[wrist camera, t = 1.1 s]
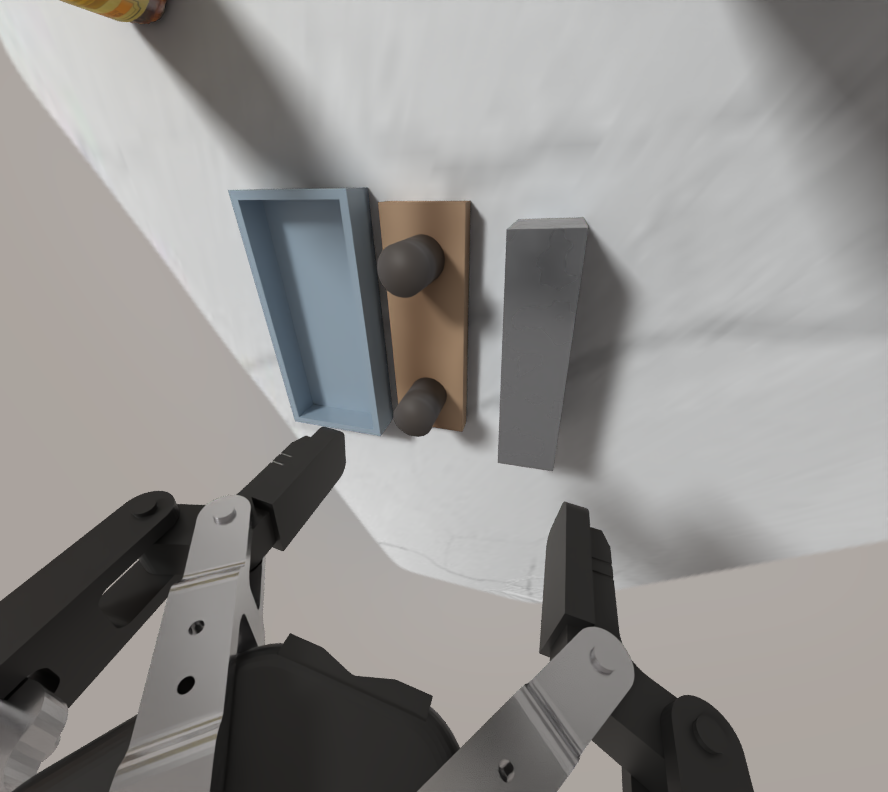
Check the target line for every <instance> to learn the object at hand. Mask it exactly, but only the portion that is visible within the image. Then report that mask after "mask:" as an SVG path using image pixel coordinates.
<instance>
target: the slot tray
mask: <svg viewBox="0 0 888 792" xmlns="http://www.w3.org/2000/svg"><path fill="white" fill-rule="evenodd" d="M228 192H229V195H230V199H231V202H232V206H233V209H234V212H235V216H236V219H237V223H238V226H239V230H240V233H241V237H242V240H243V243H244V247H245V250H246V254H247V257H248V261H249V264H250V268H251V271H252V274H253V278H254V281H255V285H256V288H257V292H258V295H259V299H260V302H261V305H262V309H263V312H264V316H265V319H266V323H267V326H268V329H269V333H270V336H271V340H272V343H273V347H274V350H275V354H276V357H277V360H278V364H279V367H280V371H281V374H282V378H283V381H284V385H285V388H286V391H287V395H288V398H289V402H290V405H291V409H292V412H293V416H294V419H295V421H297V422H302V423H308V424H314V425H320V426H325V427H331V428H337V429H343V430H348V431H354V432H360V433H365V434H371V435H377V436H381V435H382V433H383V432H384V430H385V429H386V428H387V426H388V425H389V423H390V422H391V421H392V419H393V411H392V402H391V393H390V384H389V375H388V366H387V357H386V348H385V339H384V330H383V321H382V312H381V303H380V294H379V285H378V276H377V267H376V258H375V250H374V241H373V232H372V223H371V214H370V205H369V196H368V188H304V189H250V190H228Z"/></svg>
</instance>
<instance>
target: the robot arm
mask: <svg viewBox="0 0 888 792" xmlns="http://www.w3.org/2000/svg"><path fill="white" fill-rule="evenodd" d="M345 464H346V456H345V437H344V433H343V432H341V431H337V430H334V429H331V428H328V427H321V428H320V429H319V430H318V431H317V432H316V433H315V434H314V435H313V436H312V437H308V436H304V437H302V438H300V439H298V440H296V441H295V442H292V443H291V444H290V445H289V446H288V447H287V448H286V449H285V450H284V451H283V452H282V454H281V455H280V454H279V455H278V456H277V457H276V458H275V459H274V460H273V462H272V463H270V464H269V465H268V466H267V467H266V468H265V469H264V470H262V471H261V472H260V473H259V474H258V475H257V476H256V477H255V478H254V479H253V480H252V481H251V482H250V483H249V484H248V485H247V486H246V487H245V488H243V490H241V491H240V492H239V493H238V494H237V495H227V496H223V497H220V498H217V499H215V500H213V501H211V502H210V503H208V504H207V505H187V504H176V501H175V499H174V497H173V496H172V495H171V494H170V493H168V492H164V491H153V492H148V493H144V494H142V495H139V496H137V497H135V498H133V499H131V500H129V501H128V502H126V503H125V504H124V505H123V506H121V507H120V508H119V509H117V510H116V511H115V512H114V513H112V514H111V515H110V516H109V517H107V518H106V519H105V520H104V521H102V522H101V523H100V524H98V525H97V526H96V527H94V528H93V529H92V530H91V531H89V532H88V533H87V534H86V535H84V536H83V537H82V538H80V539H79V540H78V541H77V542H75V543H74V544H73V545H72V546H70V547H69V548H68V549H66V550H65V551H64V552H63V553H61V554H60V555H59V556H57V557H56V558H55V559H54V560H52V561H51V562H50V563H49V564H47V565H46V566H45V567H44V568H42V569H41V570H40V571H38V572H37V573H36V574H35V575H33V576H32V577H31V578H30V579H28V580H27V581H26V582H24V583H23V584H22V585H21V586H19V587H18V588H17V589H15V590H14V591H13V592H12V593H10V594H9V595H8V596H6V597H5V598H4V599H3V600H1V601H0V792H557V791H558V789H559V788H560V787H561V785H562V784H563V782H564V781H565V780H566V779H567V777H568V776H569V775H570V773H571V772H572V770H573V769H574V767H575V766H576V764H577V763H578V761H579V759H580V758H579V757H580V755H581V753H582V752H583V750H584V749H585V748H586V746H587V745H588V744H589V742H590V741H591V740H592V741H593V742H594V743H595V744H597V745H598V746H599V747H600V748H601V749H602V750H603V751H605V752H606V753H607V754H608V755H609V756H610V757H612V758H613V759H614V760H615V761H616V762H617V763H618V764H619V765H621V766H622V786H623V792H754V790H753V787H752V783H751V779H750V775H749V771H748V767H747V763H746V759H745V755H744V752H743V749H742V746H741V744H740V741H739V739H738V737H737V735H736V733H735V732H734V730H733V728H732V727H731V726H730V724H729V723H728V722H727V720H726V719H725V718H724V717H723V715H722V714H721V713H720V712H719V711H718V710H716V709H715V708H714V707H713V706H712V705H710V704H709V703H708V702H706V701H704V700H702V699H701V698H698V697H695V696H691V695H684V696H681V697H679V698H676V697H675V696H674V695H672V694H671V693H670V692H668V691H667V690H666V689H664V688H663V687H661V686H660V685H659V684H657V683H656V682H655V681H653V680H652V679H651V678H649V677H648V676H647V675H646V674H644V673H643V672H642V671H641V670H640V669H639V668H638V667H637V666H636V665H635V664H634V663H633V661H632V660H631V658H630V655H629V654H628V652H627V650H626V648H625V647H624V645H623V644H622V641H621V638H620V634H619V626H618V616H617V607H616V598H615V588H614V580H613V569H612V566H611V565H612V560H611V550H610V546H609V544H608V542H607V540H606V538H605V536H604V534H603V532H602V531H601V530H598V529H595V528H592V527H590V519H589V510H588V509H587V508H584V507H580V506H577V505H574V504H571V503H567V502H564V503H563V504H562V506H561V508H560V510H559V512H558V515H557V517H556V519H555V521H554V523H553V525H552V527H551V530H550V532H549V536H548V540H547V546H546V559H545V574H544V590H543V605H542V620H541V636H540V650H539V653H540V654H542V655H545V656H548V657H550V662H549V663H548V664H547V665H546V666H545V667H544V668H543V669H542V670H541V671H540V672H539V673H538V674H537V675H536V676H535V677H534V678H533V680H531V681H530V682H529V683H528V684H525V685H524V686H523V687H521V688H520V689H519V690H518V691H517V692H516V693H515V694H514V695H513V696H512V697H511V698H510V699H509V700H508V701H507V702H506V703H505V704H504V705H503V706H502V707H501V708H500V709H499V710H498V711H497V712H496V713H495V714H494V715H493V716H492V717H491V718H490V719H489V720H488V721H487V722H486V723H485V724H484V725H483V726H482V727H481V728H480V729H479V730H478V731H477V732H476V733H475V734H474V735H473V736H472V737H471V738H470V739H469V740H468V741H467V742H466V743H465V744H464V745H463V746H462V747H461V748H460V747H459V745H458V743H457V741H456V739H455V737H454V735H453V733H452V732H451V730H450V728H449V727H448V726H447V724H446V722H445V721H444V720H443V719H442V718H441V716H440V715H439V714H438V713H437V712H436V711H435V710H434V709H433V708H431V707H430V705H431V701H432V697H433V696H432V695H429V694H427V693H425V692H423V691H420V690H418V689H416V688H414V687H411V686H409V685H406V684H404V683H402V682H400V681H398V680H395V679H384V678H373V677H361V676H354V675H352V674H351V673H350V672H348V671H347V670H346V669H345V668H344V667H343V666H342V665H341V664H340V663H339V662H338V661H337V660H336V659H335V658H333V657H332V656H331V655H330V654H329V653H328V652H327V651H326V650H325V649H324V648H322V647H320V646H318V645H316V644H313V643H311V642H309V641H306V640H304V639H302V638H299V637H297V636H295V635H293V634H291V633H290V634H289V636H288V637H287V639H286V640H285V642H284V643H283V644H282V643H279V644H278V643H276V644H268V645H265V632H264V624H263V600H264V580H265V555H266V554H267V553H268V551H269V550H270V549H271V548H272V547H273V548H276V549H278V550H281V551H284V550H285V549H286V547H287V546H288V545H289V544H290V542H291V541H292V539H293V538H294V537H295V536H296V534H297V533H298V532H299V531H300V529H301V528H302V527H303V525H304V524H305V523H306V521H307V520H308V519H309V518H310V516H311V515H312V514H313V512H314V511H315V510H316V508H317V507H318V506H319V504H320V503H321V502H322V501H323V499H324V498H325V497H326V496H327V494H328V493H329V492H330V490H331V489H332V488H333V486H334V485H335V484H336V483H337V481H338V480H339V479H340V477H341V476H342V474H343V471H344V469H345ZM137 559H139V561H138V562H137V563H135V564H134V565H133V566H132V568H130V569H129V570H128V571H127V572H126V573H125V574H124V575H123V576H122V577H121V578H120V579H119V580H118V581H116V582H115V583H114V584H113V585H112V586H111V587H110V588H109V589H108V590H107V591H106V592H105V593H104V591H105V590H106V588H108V587H109V586H110V585H111V584H112V583H113V582H114V581H115V580H116V579H117V578H118V577H119V576H120V575H121V574H123V573H124V572H125V570H127V569H128V568H129V567H130V566H131V565H132V564H133V563H134V562H135V561H136V560H137ZM103 593H104V594H103ZM102 594H103V595H102ZM167 597H168V598H167ZM166 598H167V602H166V606H165V610H164V614H163V618H162V621H161V625H160V629H159V633H158V637H157V641H156V645H155V649H154V653H153V656H152V660H151V664H150V668H149V672H148V676H147V680H146V683H145V687H144V691H143V695H142V699H141V703H140V707H139V711H138V714H137V715H135V716H134V717H132V718H131V719H129V720H127V721H126V722H124V723H122V724H120V725H119V726H117V727H115V728H114V729H112V730H110V731H108V732H107V733H105V734H104V735H102V736H100V737H98V738H97V739H95V740H93V741H92V742H90V743H88V744H87V745H85V746H83V747H81V748H80V749H78V750H77V751H75V752H73V753H71V754H70V755H68V756H66V757H65V758H63V759H61V760H60V761H58V762H56V763H54V764H53V765H51V766H49V767H48V768H46V769H44V770H43V771H41V772H39V773H38V774H36V773H37V770H38V768H39V766H40V764H41V762H43V761H44V760H45V759H47V758H48V757H49V756H50V755H51V754H52V753H53V752H54V750H55V749H56V748H57V746H58V744H59V741H60V734H61V732H62V730H63V728H64V726H65V724H66V721H67V716H68V708H69V707H70V706H71V705H72V704H73V703H74V701H75V700H76V699H77V698H78V697H79V696H80V695H81V694H82V692H83V691H84V690H85V689H86V688H87V687H88V686H89V685H90V684H91V682H92V681H93V680H94V679H95V678H96V677H97V676H98V675H99V673H100V672H101V671H102V670H103V669H104V668H105V667H106V666H107V664H108V663H109V662H110V661H111V660H112V659H113V658H114V657H115V656H116V654H117V653H118V652H119V651H120V650H121V649H122V648H123V647H124V645H125V644H126V643H127V642H128V641H129V640H130V639H131V638H132V636H133V635H134V634H135V633H136V632H137V631H138V630H139V629H140V628H141V626H142V625H143V624H144V623H145V622H146V621H147V620H148V618H149V617H150V616H151V615H152V614H153V613H154V612H155V611H156V609H157V608H158V607H159V606H160V605H161V604H162V603H163V602H164V601H165V600H166Z"/></svg>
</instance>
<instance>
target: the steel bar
mask: <svg viewBox="0 0 888 792" xmlns="http://www.w3.org/2000/svg"><path fill="white" fill-rule="evenodd" d="M588 229H589V227H588V225H587V223H586V221H585V220H584V218H583V217H576V218H543V219H518V220H517V221H516V222H515V223H514V224H512V225H511V226H510V227H509V228H508V229H507V236H506V262H505V288H504V314H503V340H502V366H501V392H500V418H499V445H498V463H502V464H509V465H515V466H522V467H529V468H535V469H542V470H548V471H553V468H554V461H555V454H556V447H557V440H558V434H559V427H560V420H561V413H562V406H563V399H564V393H565V386H566V379H567V372H568V365H569V358H570V352H571V345H572V338H573V331H574V324H575V317H576V311H577V304H578V297H579V290H580V283H581V276H582V270H583V263H584V256H585V249H586V242H587V235H588Z"/></svg>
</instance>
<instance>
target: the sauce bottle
mask: <svg viewBox="0 0 888 792" xmlns="http://www.w3.org/2000/svg"><path fill="white" fill-rule="evenodd" d="M60 1H63V2H66V3H69V4H71V5H74V6H77V7H80V8H83V9H86V10H88V11H91V12H94V13H97V14H100V15H103V16H106V17H108V18H111V19H114V20H117V21H121V22H131V23H139V24H149V23H150V22H153V21H154V22H155V21H156V20H159V19H160V18H161V16H162V15H163V13H164V10H165V4H166V2H167V0H60Z"/></svg>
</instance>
